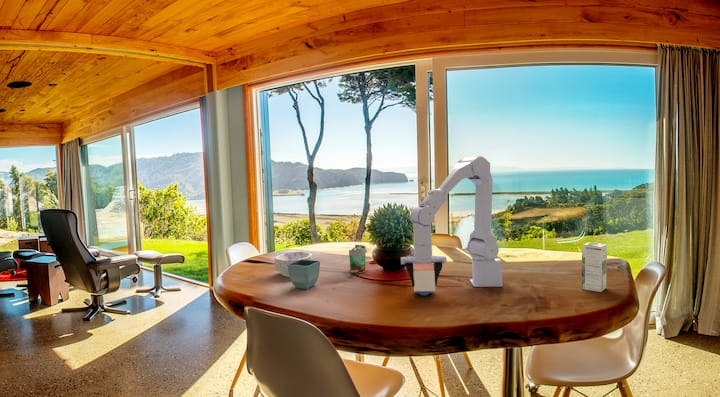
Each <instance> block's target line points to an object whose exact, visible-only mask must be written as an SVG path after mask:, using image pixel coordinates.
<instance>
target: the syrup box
mask: <svg viewBox="0 0 720 397" xmlns="http://www.w3.org/2000/svg"><path fill="white" fill-rule="evenodd" d="M581 246H582V247H581V249H582V250H581V289H582V290H585V291H592V292H598V293H602V292H603V291H605V290H606V289H607V281H608V279H607V275H608V272H607V271H608V265H607V264H608V245H607V244H606V243H600V242H590V241H589V242H586V243H584V244H582V245H581Z"/></svg>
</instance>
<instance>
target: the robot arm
mask: <svg viewBox="0 0 720 397" xmlns="http://www.w3.org/2000/svg"><path fill="white" fill-rule="evenodd" d="M464 179H468V180H470V181H471V182H472V183H473V184H474V186H475V189H474V191H475V192H474V193H475V194H474V195H475V196H474V225H473V226H474V230H473V231H472V232H471V233H470V234H469V240H468V242H467V245H466V248H467V251H468V253H469V254H470V258H471V265H472V266H471V268H472V269H471V270H472V278H470V279H469V282H470V283H471V285H472V286H473V287H475V288H478V287H480V288H483V287H484V288H485V287H487V288H488V287H489V288H490V287H495V288H496V287H498V288H499V287H503V268H502V267H503V265H502V261H501V259H500V258H498V257H497V256H498V254H499V251H500V250H499V249H500V248H499V247H500V246H499V245H498V241H497V240H498V238H497V236H496V235H495V234H494V232H492V216H493V214H492V212H493V211H492V210H493V206H492V204H493V177H492V174H491V162H490V161H488V159H487V158H486V157H484V156H482V155H481V156H475V157H461V158H460V159H459V160H458V161H457V162H456V163H455V164H454V165H453V169H452V170H451V171H450V173H448V176H446V178H445V179H444V180H443V181H442V184H441V185H440V186H439V187H438V188H434V189H432V190H429V191H428V192H427V193H428V195H426V197H425V198H424V199H423V201H420V202H419V203H418V204H419V205H418V206H415V207H414V208H412V210H411V211H410V215H409V216H408V218H409V220H410V222H411V223H412V228H413V231H412V232H413V251H414V252H413V253H414V254H413V256H411V255H410V256H402V257H400V265H405V269H406V271H407V273H408V275H409V278H410V281H411V286H412V287H414V274H413V271H414V264H419V265H420V264H433V270H434V274H435V287H437V286H438V285H437V284H438V281H439V280H438V279H439V276H440V273H441V271H442V268H443V264H447V256H443V255H442V256H438V255H433V241H432V240H433V239H432V238H433V236H432V223H434V222H435V220H436V215H437V212H439V211H440V209H441V208H442V207H443V206H444V205H445V204H446V203H447V201H448V198H447V195H449V194H450V193H451V191H452V190H453V189H455V187H457V185H458V184H459V183H460V182H461V181H462V180H464Z"/></svg>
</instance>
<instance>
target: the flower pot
mask: <svg viewBox="0 0 720 397" xmlns="http://www.w3.org/2000/svg"><path fill="white" fill-rule="evenodd" d="M320 265H321V260H313V259H312V260H298V261H296V262H293V263H290V264H288V271H289V277H288V278H289V280H290V281H291V284H292V285H293V287H295V289H303V290H308V289H309V288H312V287H314V286H315V285H316V283H317V281H318V279H319V275H320V269H321V268H320Z"/></svg>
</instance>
